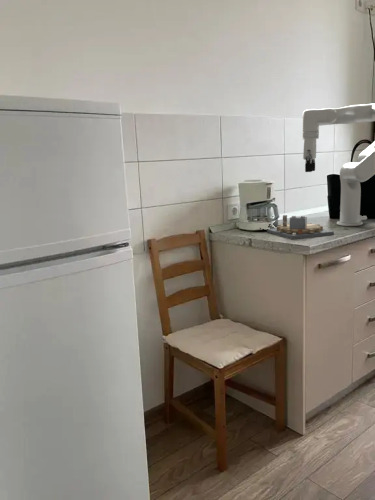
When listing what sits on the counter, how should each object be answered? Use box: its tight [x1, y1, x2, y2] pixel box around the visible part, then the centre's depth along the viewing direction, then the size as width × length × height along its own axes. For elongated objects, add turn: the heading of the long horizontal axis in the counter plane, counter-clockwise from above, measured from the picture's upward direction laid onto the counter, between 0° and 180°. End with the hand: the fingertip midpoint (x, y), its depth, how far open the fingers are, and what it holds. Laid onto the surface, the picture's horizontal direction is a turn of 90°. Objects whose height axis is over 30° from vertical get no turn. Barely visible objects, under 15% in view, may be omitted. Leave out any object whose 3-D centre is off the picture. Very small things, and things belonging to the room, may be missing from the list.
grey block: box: [289, 215, 308, 229], centre depth 198 cm, size 4×7×6 cm, turn 65°
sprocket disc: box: [276, 214, 324, 234], centre depth 203 cm, size 21×21×7 cm
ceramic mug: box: [266, 218, 280, 229], centre depth 216 cm, size 11×8×8 cm
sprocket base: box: [266, 227, 335, 240], centre depth 204 cm, size 22×22×2 cm
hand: (310, 171), depth 214 cm, fingers open, 9 cm apart
